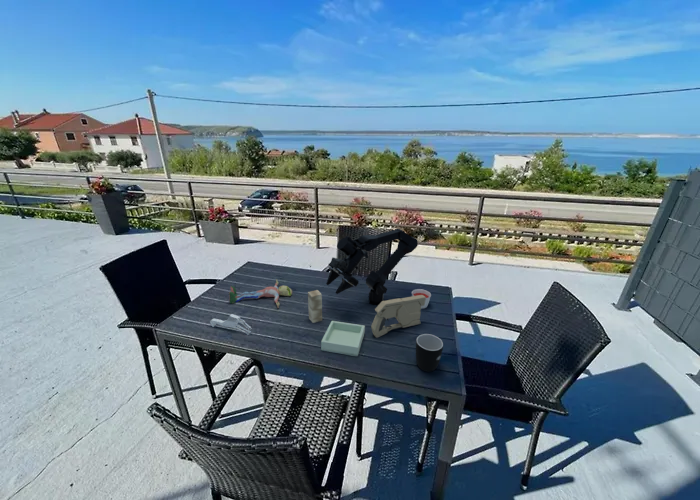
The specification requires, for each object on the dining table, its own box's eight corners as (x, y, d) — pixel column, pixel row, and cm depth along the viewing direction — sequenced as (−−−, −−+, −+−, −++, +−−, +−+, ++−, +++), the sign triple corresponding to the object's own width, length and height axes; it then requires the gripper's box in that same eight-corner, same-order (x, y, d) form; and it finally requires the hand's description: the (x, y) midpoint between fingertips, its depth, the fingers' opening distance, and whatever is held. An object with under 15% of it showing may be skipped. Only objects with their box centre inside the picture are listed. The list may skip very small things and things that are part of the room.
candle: (409, 300, 148) (410, 288, 146) (427, 301, 148) (429, 289, 145) (411, 309, 140) (412, 297, 138) (431, 310, 139) (432, 298, 137)
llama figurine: (247, 343, 124) (211, 322, 126) (253, 324, 120) (216, 303, 121) (244, 346, 123) (208, 325, 125) (251, 327, 118) (213, 305, 120)
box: (364, 333, 122) (364, 325, 120) (357, 356, 109) (357, 347, 108) (331, 328, 125) (331, 320, 123) (321, 350, 112) (321, 341, 110)
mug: (437, 378, 100) (441, 353, 96) (411, 369, 103) (413, 345, 100) (442, 356, 110) (446, 333, 106) (418, 349, 113) (421, 326, 110)
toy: (231, 276, 156) (289, 270, 162) (233, 289, 158) (290, 282, 165) (224, 303, 130) (293, 295, 137) (226, 317, 133) (294, 308, 140)
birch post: (318, 315, 134) (317, 289, 129) (322, 320, 130) (321, 294, 126) (308, 318, 132) (307, 292, 127) (312, 323, 128) (311, 296, 124)
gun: (373, 339, 118) (378, 306, 114) (369, 334, 121) (373, 302, 117) (420, 328, 130) (426, 297, 125) (415, 324, 133) (421, 293, 128)
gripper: (331, 244, 134) (310, 272, 133) (351, 258, 119) (328, 289, 118) (347, 257, 141) (327, 283, 140) (368, 271, 125) (346, 301, 124)
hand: (331, 288), depth 130 cm, fingers open, 9 cm apart
